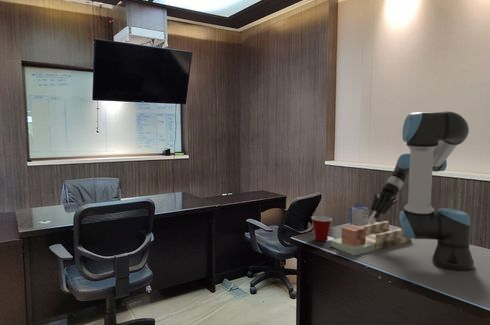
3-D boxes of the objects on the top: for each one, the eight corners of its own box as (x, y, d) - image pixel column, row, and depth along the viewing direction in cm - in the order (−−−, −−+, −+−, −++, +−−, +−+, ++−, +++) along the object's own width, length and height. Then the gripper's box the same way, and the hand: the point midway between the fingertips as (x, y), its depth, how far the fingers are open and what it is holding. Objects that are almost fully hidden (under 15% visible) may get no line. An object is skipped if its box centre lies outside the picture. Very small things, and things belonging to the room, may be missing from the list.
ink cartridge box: (366, 226, 205) (366, 202, 204) (369, 229, 200) (369, 204, 199) (349, 227, 206) (349, 203, 204) (352, 229, 200) (352, 205, 199)
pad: (349, 241, 179) (349, 235, 179) (374, 250, 165) (374, 244, 165) (330, 245, 173) (330, 240, 173) (354, 255, 159) (354, 249, 159)
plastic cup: (335, 241, 179) (335, 219, 178) (315, 243, 178) (315, 220, 176) (327, 235, 190) (327, 214, 189) (308, 237, 188) (308, 215, 187)
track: (385, 233, 191) (386, 220, 191) (411, 240, 177) (411, 227, 177) (349, 241, 179) (349, 228, 178) (374, 250, 165) (374, 236, 164)
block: (352, 239, 173) (352, 224, 173) (365, 243, 167) (365, 228, 166) (341, 242, 169) (341, 227, 168) (354, 246, 162) (354, 231, 162)
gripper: (406, 193, 176) (384, 230, 169) (385, 189, 187) (363, 224, 181) (400, 183, 173) (377, 221, 166) (378, 181, 184) (356, 215, 178)
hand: (370, 222), depth 174 cm, fingers closed
